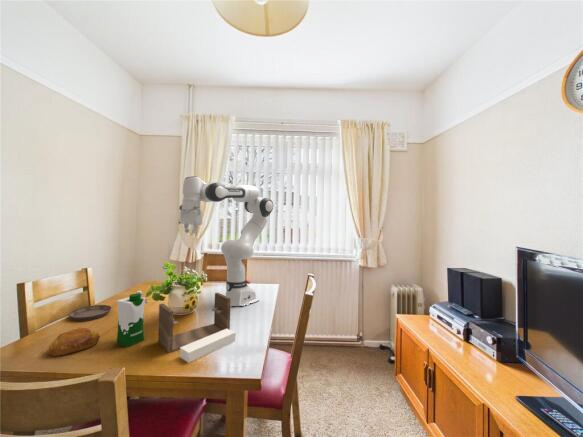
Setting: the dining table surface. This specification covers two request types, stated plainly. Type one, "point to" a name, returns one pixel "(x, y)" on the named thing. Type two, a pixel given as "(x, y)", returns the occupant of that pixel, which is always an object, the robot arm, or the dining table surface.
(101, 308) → the plant saucer
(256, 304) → the dining table surface
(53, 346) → the croissant
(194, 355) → the shelf board
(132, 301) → the milk carton
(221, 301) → the shelf frame
